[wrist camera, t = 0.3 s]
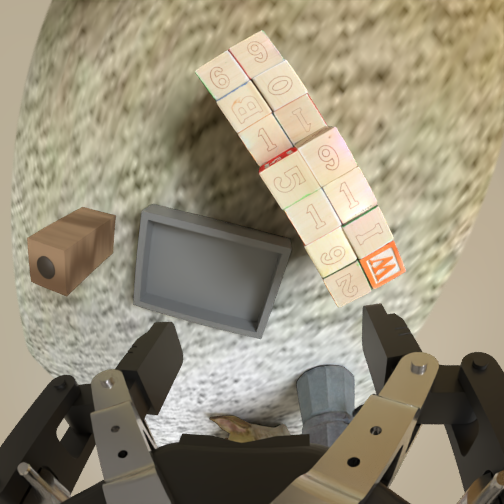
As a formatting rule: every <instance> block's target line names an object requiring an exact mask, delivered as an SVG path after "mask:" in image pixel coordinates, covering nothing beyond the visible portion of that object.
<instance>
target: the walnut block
mask: <svg viewBox="0 0 504 504" xmlns="http://www.w3.org/2000/svg"><path fill="white" fill-rule="evenodd" d="M115 219H116V215H112V214H108V213H104V212H100V211H96V210H92V209H88V208H84V207H82V208H80V209H78V210H76V211H74V212H72V213H70V214H69V215H67V216H65V217H63V218H61V219H59V220H58V221H56V222H54V223H52V224H50V225H49V226H47V227H45V228H43V229H42V230H40V231H38V232H37V233H35V234H33V235H32V236H30V237H28V238H27V241H28V255H29V266H30V276H31V282H33V283H35V284H38V285H40V286H42V287H45V288H47V289H50V290H52V291H55V292H57V293H60V294H62V295H65V296H68V295H69V294H70V293H71V292H72V291H73V290H74V289H75V288H76V287H77V286H78V285H79V284H80V283H81V282H82V281H83V280H84V279H85V278H86V277H87V276H88V275H89V274H90V273H91V272H93V271H94V270H95V269H96V268H97V267H98V266H99V265H100V264H101V263H102V262H103V261H104V260H106V259H107V258H108V257H109V256H110V255H111V254H112V253H113V244H114V230H115Z"/></svg>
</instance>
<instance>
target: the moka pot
mask: <svg viewBox="0 0 504 504" xmlns="http://www.w3.org/2000/svg"><path fill="white" fill-rule="evenodd" d="M354 386H355V384H354V376H353V374H352V373H351V372H350V371H349V370H347V369H346V368H345V367H343V366H336V365H329V366H320V367H317V368H314V369H311V370H309V371H307V372H305V373H304V374H303V375H302V376H301V377H300V378H299V379H298V381H297V393H298V399H299V405H300V411H301V417H302V423H303V428H302V434H310V443H316V444H321V445H325V446H328V447H331V446H332V445H333V443H334V442H335V441H336V440H337V439H338V437H339V436H340V435H341V434H342V432H343V431H344V430H345V429H346V427H347V426H348V425H349V424H350V422H351V421H352V420H353V418H354V417H355V416H356V414H357V413H358V412H359V410H360V409H361V408H362V406H363V405H361V406H359V407H357V408H356V409H354V396H355V394H354Z"/></svg>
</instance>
